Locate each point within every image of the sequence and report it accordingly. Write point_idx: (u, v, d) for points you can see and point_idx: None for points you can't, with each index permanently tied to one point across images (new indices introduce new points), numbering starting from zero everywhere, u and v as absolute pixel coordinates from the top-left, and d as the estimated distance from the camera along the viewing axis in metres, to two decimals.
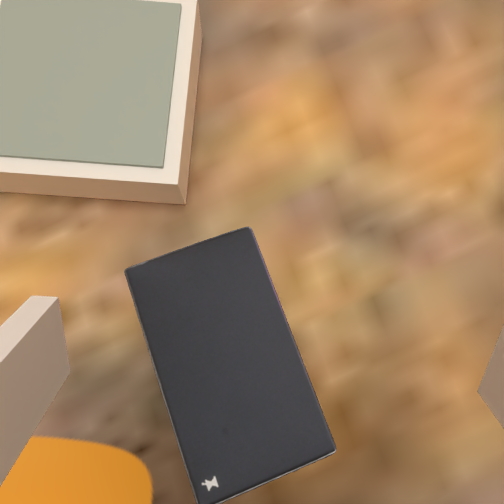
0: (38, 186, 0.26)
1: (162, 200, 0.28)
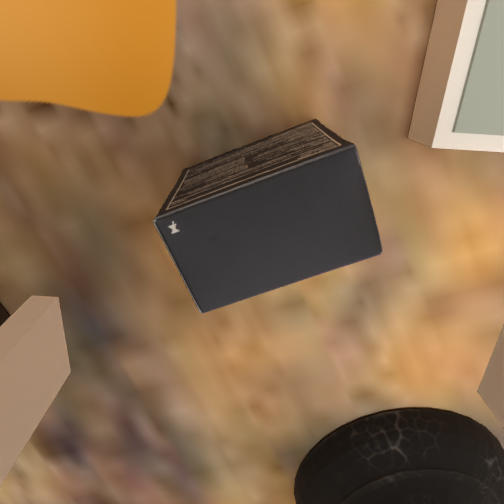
0: None
1: (416, 116, 0.26)
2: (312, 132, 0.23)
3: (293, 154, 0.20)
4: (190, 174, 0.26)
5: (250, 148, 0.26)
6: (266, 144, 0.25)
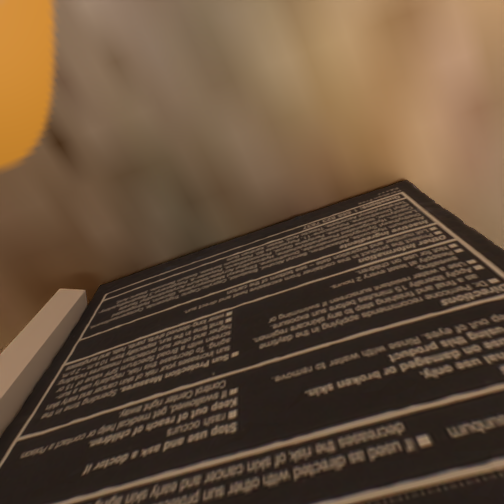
0: None
1: None
2: (435, 247, 0.08)
3: (438, 430, 0.04)
4: (96, 326, 0.10)
5: (249, 260, 0.10)
6: (292, 259, 0.09)
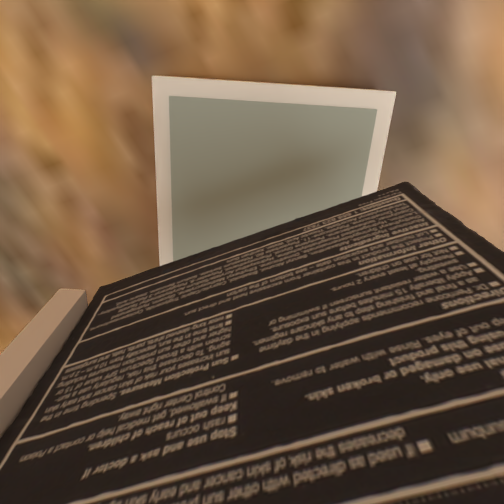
0: None
1: None
2: (436, 249, 0.08)
3: (439, 435, 0.04)
4: (96, 328, 0.10)
5: (249, 262, 0.10)
6: (292, 261, 0.09)
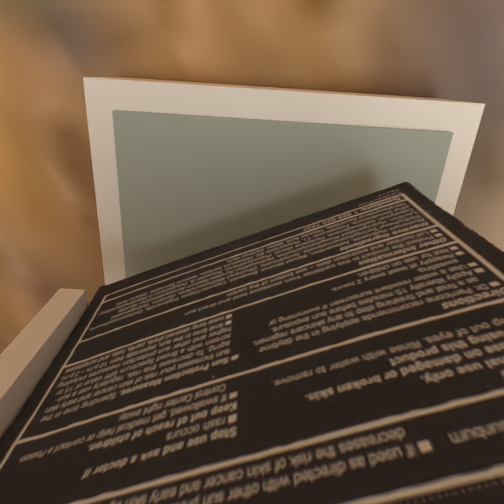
0: None
1: None
2: (436, 249, 0.08)
3: (440, 435, 0.04)
4: (96, 328, 0.10)
5: (249, 262, 0.10)
6: (292, 261, 0.09)
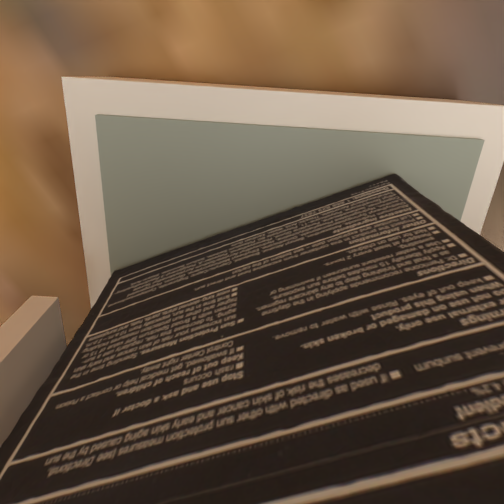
0: None
1: None
2: (416, 229, 0.09)
3: (407, 366, 0.06)
4: (114, 304, 0.11)
5: (252, 245, 0.11)
6: (290, 243, 0.10)
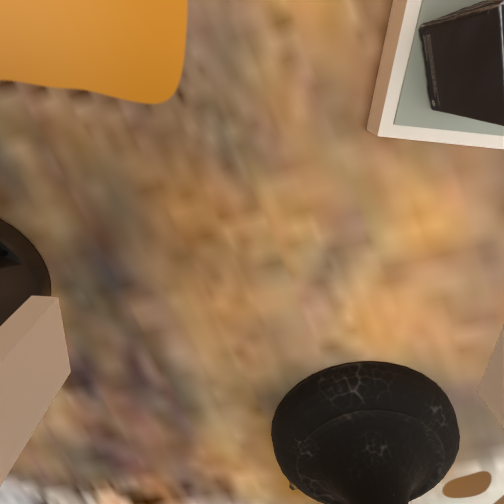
0: None
1: (371, 112, 0.33)
2: None
3: None
4: (452, 14, 0.25)
5: None
6: None
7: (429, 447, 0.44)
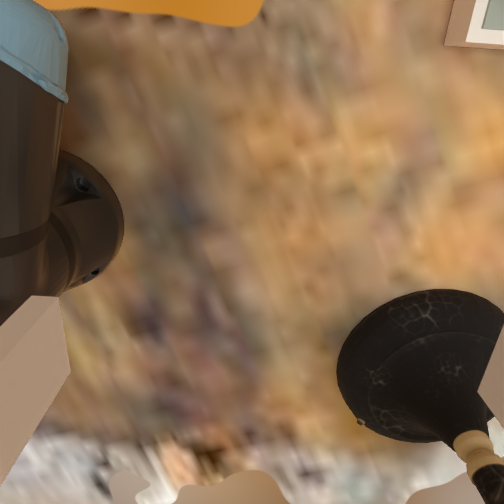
0: None
1: (451, 25, 0.34)
2: None
3: None
4: None
5: None
6: None
7: None
